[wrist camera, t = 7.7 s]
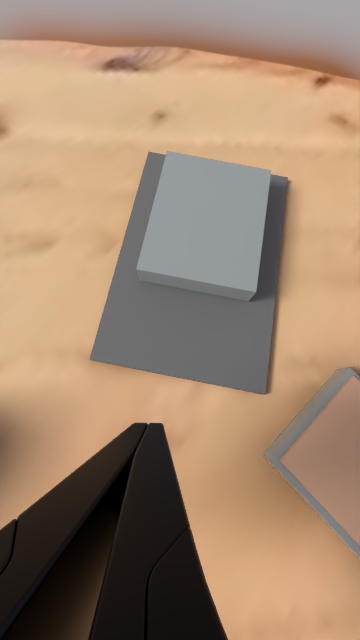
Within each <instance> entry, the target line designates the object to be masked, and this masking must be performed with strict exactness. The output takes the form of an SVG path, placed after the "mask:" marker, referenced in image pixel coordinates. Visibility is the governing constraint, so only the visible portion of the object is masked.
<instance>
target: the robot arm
mask: <svg viewBox="0 0 360 640" xmlns="http://www.w3.org/2000/svg"><path fill="white" fill-rule="evenodd" d="M0 640H228V638H227V636H226V633H225V631H224V628H223V626H222V623H221V621H220V618H219V615H218V612H217V610H216V607H215V604H214V602H213V599H212V596H211V593H210V591H209V588H208V585H207V583H206V580H205V576H204V573H203V570H202V566H201V563H200V560H199V556H198V553H197V550H196V546H195V542H194V538H193V535H192V531H191V529H190V524H189V521H188V517H187V513H186V509H185V506H184V502H183V498H182V494H181V490H180V487H179V483H178V479H177V475H176V472H175V468H174V464H173V460H172V456H171V453H170V449H169V445H168V441H167V437H166V434H165V430H164V426H163V424H162V423H150V424H147V423H134V424H132V425H131V426H130V427H128V428H127V429H126V430H125V431H123V432H122V433H121V434H120V435H118V436H117V437H116V438H115V439H113V440H112V441H111V442H110V443H109V444H107V445H106V446H105V447H104V448H102V449H101V450H100V451H99V452H97V453H96V454H95V455H94V456H92V457H91V458H90V459H89V460H87V461H86V462H85V463H84V464H82V465H81V466H80V467H79V468H78V469H76V470H75V471H74V472H73V473H71V474H70V475H69V476H68V477H66V478H65V479H64V480H63V481H61V482H60V483H59V484H58V485H56V486H55V487H54V488H53V489H51V490H50V491H49V492H48V493H46V494H45V495H44V496H43V497H42V498H40V499H39V500H38V501H37V502H35V503H34V504H33V505H32V506H30V507H29V508H28V509H27V510H25V511H24V512H23V513H22V514H20V515H19V516H18V518H17V519H13V520H12V521H11V522H10V523H8V524H7V525H6V526H5V527H3V528H2V529H1V530H0Z"/></svg>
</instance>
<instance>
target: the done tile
mask: <svg viewBox="0 0 360 640" xmlns="http://www.w3.org/2000/svg"><path fill="white" fill-rule="evenodd" d="M263 456H264V457H265V459H266V460H267V461H268V462H269V463H270V464H271V465H272V466H273V467H274V468H275V469H276V470H277V471H278V473H279V474H280V475H281V476H282V477H283V478H284V479H285V480H286V481H287V482H288V483H289V484H290V485H291V487H292V488H293V489H294V490H295V491H296V492H297V493H298V494H299V495H300V496H301V497H302V498H303V500H304V501H305V502H306V503H307V504H308V505H309V506H310V507H311V508H312V509H313V510H314V511H315V512H316V514H317V515H318V516H319V517H320V518H321V519H322V520H323V521H324V522H325V523H326V524H327V525H328V526H329V528H330V529H331V530H332V531H333V532H334V533H335V534H336V535H337V536H338V537H339V538H340V539H341V541H342V542H343V543H344V544H345V545H346V546H347V547H348V548H349V549H350V550H351V551H352V552H353V553H354V555H355V556H356V557H357V558H358V559H359V560H360V377H359V376H358V375H357V374H356V373H355V372H354V371H353V370H352V369H351V368H350V367H348V368H341V369H337V370H336V371H335V373H334V374H333V375H332V376H331V377H330V378H329V379H328V381H327V382H326V383H325V384H324V385H323V386H322V387H321V389H320V390H319V391H318V392H317V393H316V394H315V395H314V397H313V398H312V399H311V400H310V401H309V402H308V403H307V405H306V406H305V407H304V408H303V409H302V410H301V411H300V413H299V414H298V415H297V416H296V417H295V418H294V419H293V421H292V422H291V423H290V424H289V425H288V426H287V427H286V429H285V430H284V431H283V432H282V433H281V434H280V435H279V437H278V438H277V439H276V440H275V441H274V442H273V443H272V445H271V446H270V447H269V448H268V449H267V450H266V451H265V453H264V454H263Z"/></svg>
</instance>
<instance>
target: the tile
mask: <svg viewBox="0 0 360 640" xmlns="http://www.w3.org/2000/svg"><path fill="white" fill-rule="evenodd" d="M270 176H271V170H266V169H261V168H255V167H250V166H245V165H239V164H234V163H228V162H223V161H217V160H212V159H207V158H201V157H196V156H190V155H185V154H180V153H174V152H169V151H167V153H166V157H165V161H164V165H163V168H162V172H161V176H160V180H159V184H158V188H157V191H156V195H155V199H154V203H153V207H152V211H151V214H150V218H149V222H148V226H147V230H146V234H145V237H144V241H143V245H142V249H141V253H140V257H139V260H138V264H137V268H136V270H137V274H138V277H139V280H140V281H145V282H151V283H156V284H161V285H166V286H171V287H176V288H182V289H187V290H192V291H197V292H202V293H207V294H213V295H218V296H223V297H228V298H233V299H239V300H244V301H249V300H250V299H251V298H252V297H253V295H254V294H255V293H256V290H257V282H258V274H259V266H260V258H261V249H262V241H263V233H264V225H265V217H266V209H267V201H268V192H269V184H270Z"/></svg>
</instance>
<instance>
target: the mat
mask: <svg viewBox="0 0 360 640" xmlns="http://www.w3.org/2000/svg"><path fill="white" fill-rule="evenodd" d="M165 157H166V155H163V154H158V153H152V152H148V156H147V159H146V163H145V167H144V170H143V174H142V177H141V181H140V184H139V188H138V191H137V195H136V198H135V202H134V205H133V209H132V212H131V216H130V219H129V223H128V226H127V230H126V233H125V237H124V240H123V244H122V247H121V251H120V254H119V258H118V261H117V265H116V268H115V272H114V275H113V279H112V282H111V286H110V289H109V293H108V297H107V300H106V304H105V307H104V311H103V314H102V318H101V321H100V325H99V328H98V332H97V335H96V339H95V342H94V346H93V349H92V353H91V356H90V360H93V361H98V362H103V363H108V364H113V365H118V366H123V367H128V368H133V369H138V370H143V371H148V372H153V373H158V374H163V375H168V376H173V377H178V378H183V379H188V380H193V381H198V382H203V383H209V384H214V385H219V386H224V387H229V388H234V389H239V390H244V391H249V392H254V393H259V394H266V386H267V376H268V366H269V356H270V346H271V337H272V327H273V317H274V307H275V297H276V287H277V277H278V267H279V258H280V248H281V238H282V228H283V218H284V208H285V198H286V188H287V179H288V177H282V176H277V175H271V176H270V184H269V192H268V201H267V209H266V217H265V225H264V233H263V241H262V249H261V258H260V266H259V274H258V282H257V290H256V293H255V294H254V295H253V297H252V298H251V299H250V300H249V301H244V300H239V299H233V298H228V297H223V296H218V295H213V294H207V293H202V292H197V291H192V290H187V289H182V288H176V287H171V286H166V285H161V284H156V283H151V282H145V281H140V280H139V277H138V274H137V270H136V268H137V264H138V260H139V257H140V253H141V249H142V245H143V241H144V237H145V234H146V230H147V226H148V222H149V218H150V214H151V211H152V207H153V203H154V199H155V195H156V191H157V188H158V184H159V180H160V176H161V172H162V168H163V165H164V161H165Z"/></svg>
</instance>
